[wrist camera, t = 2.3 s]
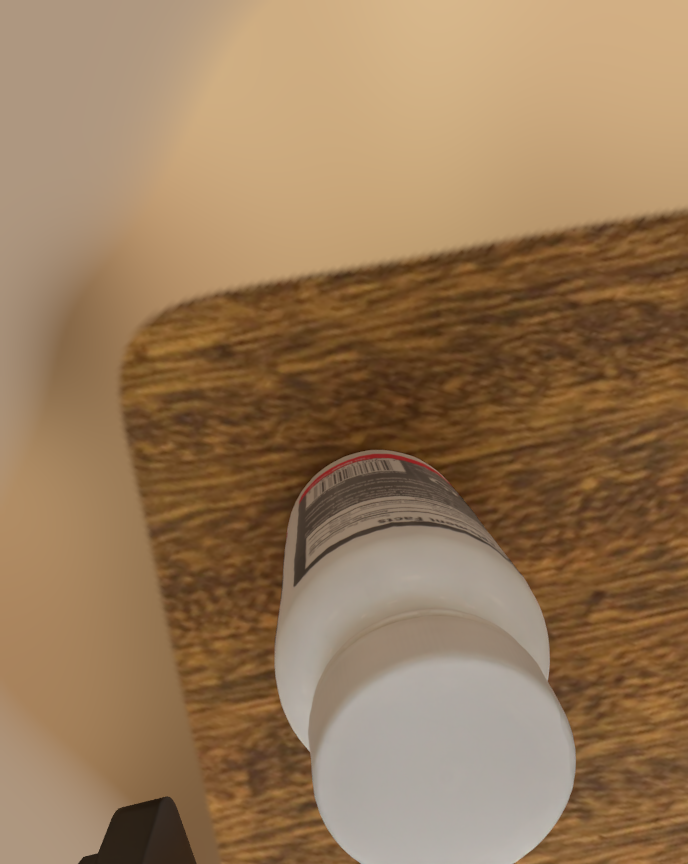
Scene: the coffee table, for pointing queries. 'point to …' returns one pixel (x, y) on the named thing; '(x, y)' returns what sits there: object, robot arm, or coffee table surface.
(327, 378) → the coffee table surface
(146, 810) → the robot arm
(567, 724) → the pill bottle
